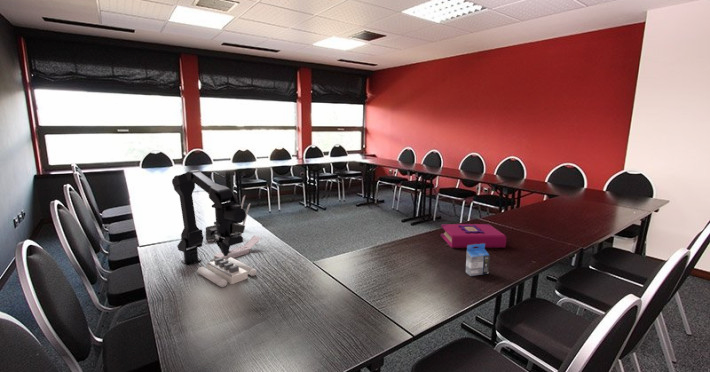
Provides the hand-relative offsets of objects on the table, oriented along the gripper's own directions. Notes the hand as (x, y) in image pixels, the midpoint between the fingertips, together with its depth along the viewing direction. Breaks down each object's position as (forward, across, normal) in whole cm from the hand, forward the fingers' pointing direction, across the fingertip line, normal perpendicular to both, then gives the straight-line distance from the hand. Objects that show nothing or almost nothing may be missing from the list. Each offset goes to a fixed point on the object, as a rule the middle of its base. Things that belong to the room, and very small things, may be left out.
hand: (225, 255), depth 137 cm
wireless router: (+8, +48, -27) cm, 56 cm away
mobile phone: (+8, +16, -14) cm, 23 cm away
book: (+9, -61, -107) cm, 124 cm away
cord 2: (+8, 0, -6) cm, 10 cm away
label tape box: (+8, -78, -70) cm, 105 cm away
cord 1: (+8, 0, +6) cm, 10 cm away
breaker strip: (+8, 0, 0) cm, 8 cm away
